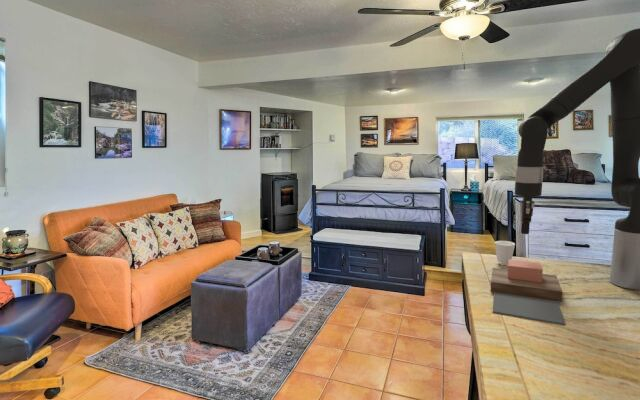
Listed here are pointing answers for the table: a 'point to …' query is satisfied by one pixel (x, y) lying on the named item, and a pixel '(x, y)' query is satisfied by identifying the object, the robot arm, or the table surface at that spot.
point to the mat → (528, 308)
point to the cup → (504, 251)
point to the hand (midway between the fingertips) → (524, 233)
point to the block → (525, 270)
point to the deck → (526, 286)
